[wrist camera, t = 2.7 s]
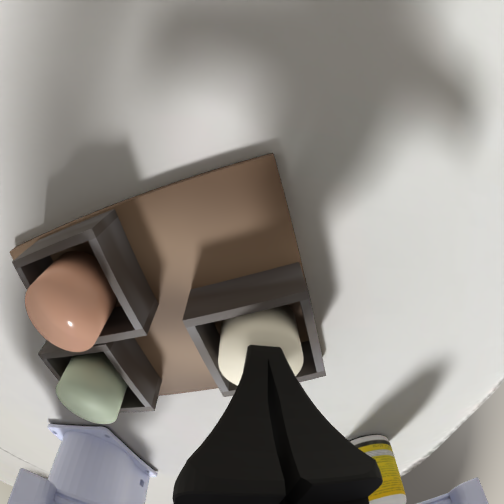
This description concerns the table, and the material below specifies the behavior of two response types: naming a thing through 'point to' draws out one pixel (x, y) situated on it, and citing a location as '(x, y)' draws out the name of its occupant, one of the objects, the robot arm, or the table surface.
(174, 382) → the button panel
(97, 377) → the sage button
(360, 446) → the supplement bottle
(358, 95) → the table surface
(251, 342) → the cream button
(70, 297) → the terracotta button
